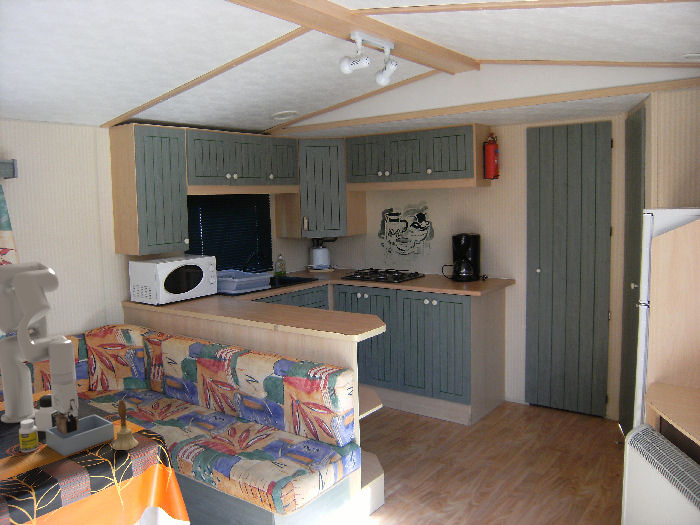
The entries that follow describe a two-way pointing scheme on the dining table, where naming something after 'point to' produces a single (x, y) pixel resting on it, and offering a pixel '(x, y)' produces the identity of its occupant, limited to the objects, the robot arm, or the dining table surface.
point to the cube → (64, 423)
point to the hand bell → (124, 432)
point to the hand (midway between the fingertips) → (68, 428)
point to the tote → (80, 435)
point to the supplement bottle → (28, 436)
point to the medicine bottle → (45, 414)
